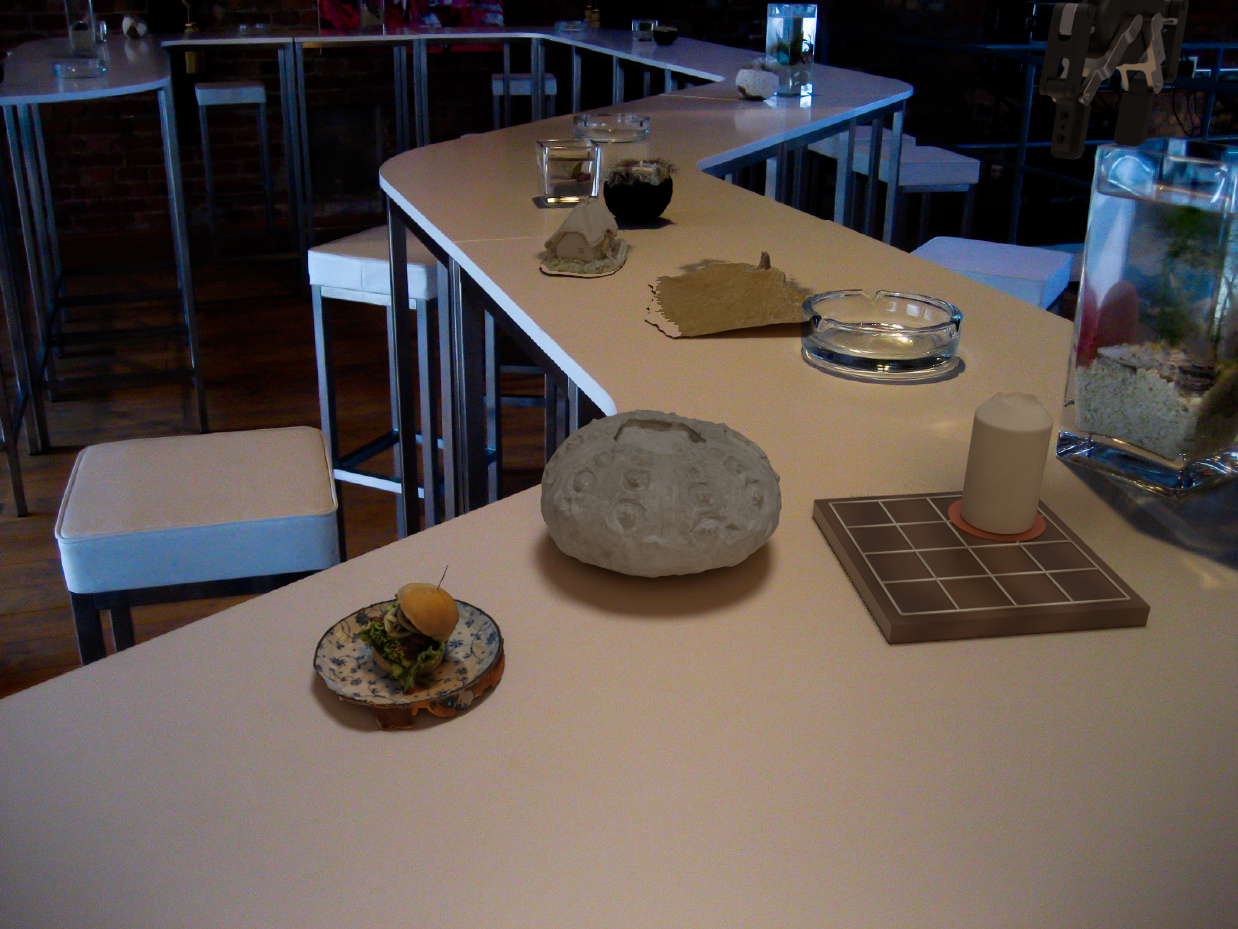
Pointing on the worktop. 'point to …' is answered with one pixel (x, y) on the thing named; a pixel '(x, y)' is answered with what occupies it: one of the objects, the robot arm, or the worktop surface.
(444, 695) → the burger
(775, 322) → the leather hide
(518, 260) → the worktop surface
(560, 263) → the ceramic model
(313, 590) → the worktop surface
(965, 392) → the worktop surface
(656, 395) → the worktop surface
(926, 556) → the board
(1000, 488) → the candle
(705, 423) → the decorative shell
